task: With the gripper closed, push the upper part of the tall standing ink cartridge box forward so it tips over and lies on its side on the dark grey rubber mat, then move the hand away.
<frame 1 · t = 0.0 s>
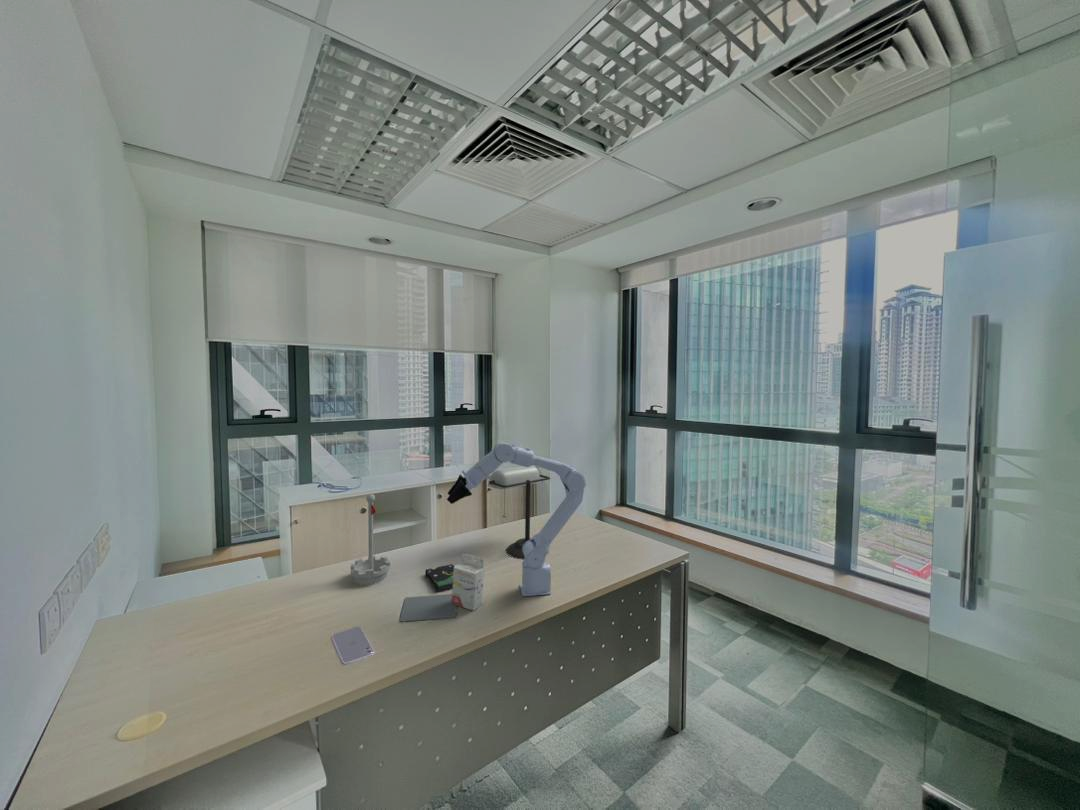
hand: (449, 498, 137), 32 cm above the table, tool tilted 50°, fingers open, 7 cm apart
lamp: (522, 548, 180), on the table
ink cartridge box: (466, 604, 133), on the table, touching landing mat
mobile phone: (352, 647, 112), on the table
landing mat: (429, 607, 131), on the table
disk drive: (445, 582, 150), on the table
flag stand: (370, 578, 151), on the table
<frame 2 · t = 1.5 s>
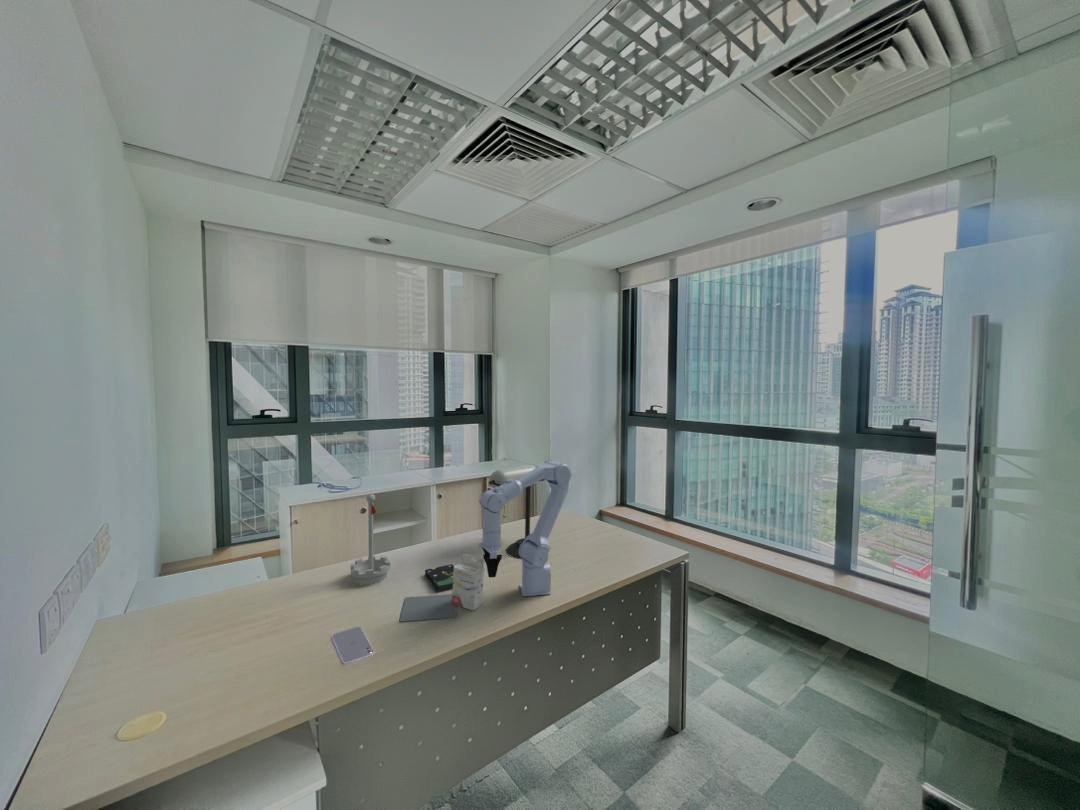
hand: (491, 572, 134), 10 cm above the table, tool pointing down, fingers open, 6 cm apart
nothing on the table moved.
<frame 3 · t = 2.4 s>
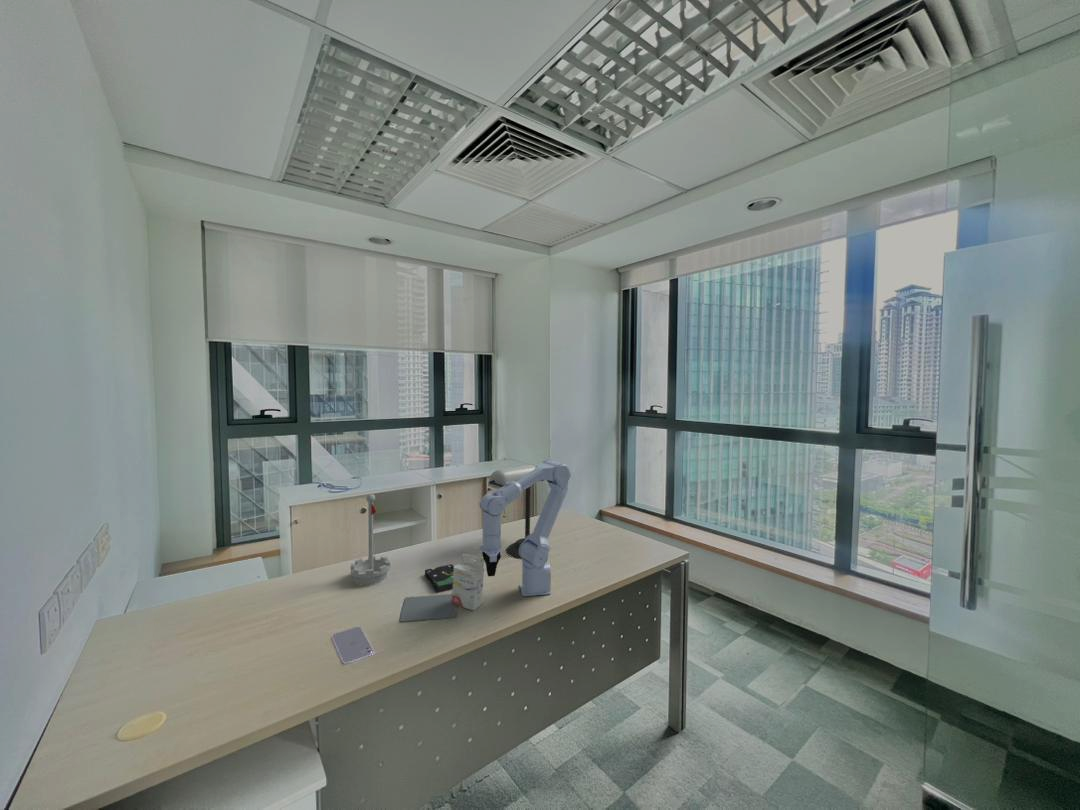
hand: (491, 575, 134), 9 cm above the table, tool pointing down, fingers closed
ink cartridge box: (466, 604, 133), on the table, touching gripper, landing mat
everything else where it was.
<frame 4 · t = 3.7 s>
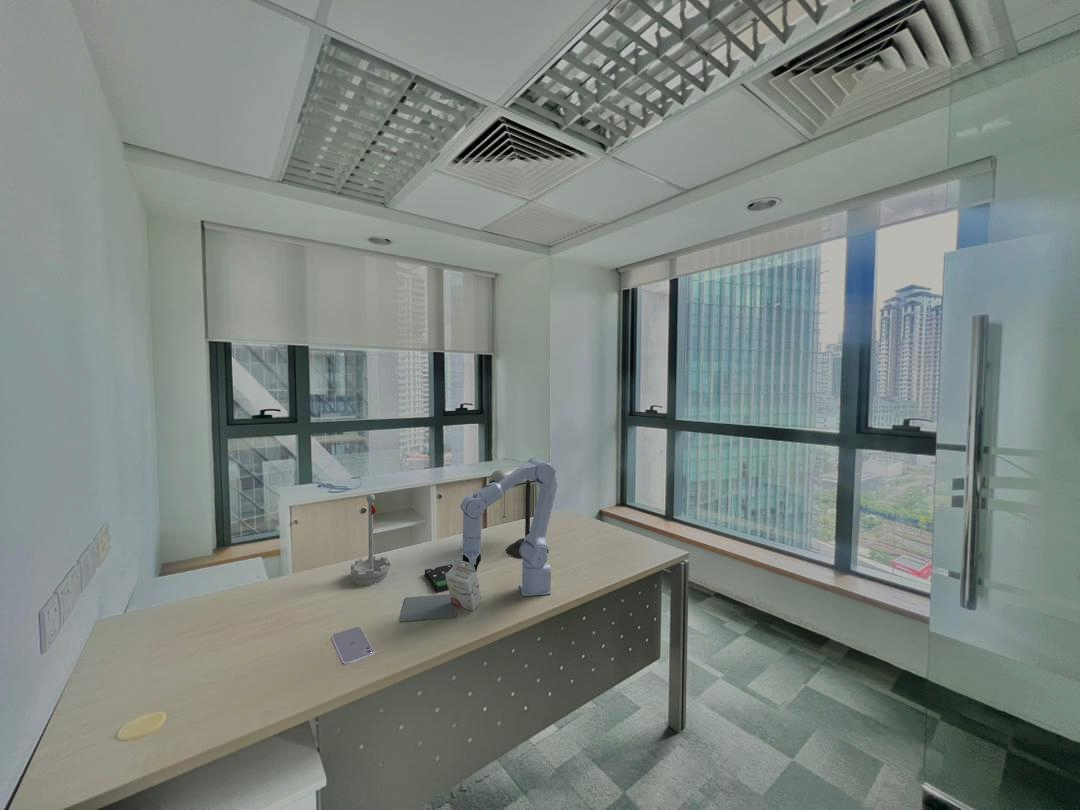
hand: (471, 577, 133), 8 cm above the table, tool pointing down, fingers closed
ink cartridge box: (466, 602, 133), point 1 cm above the table, touching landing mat
everything else where it was.
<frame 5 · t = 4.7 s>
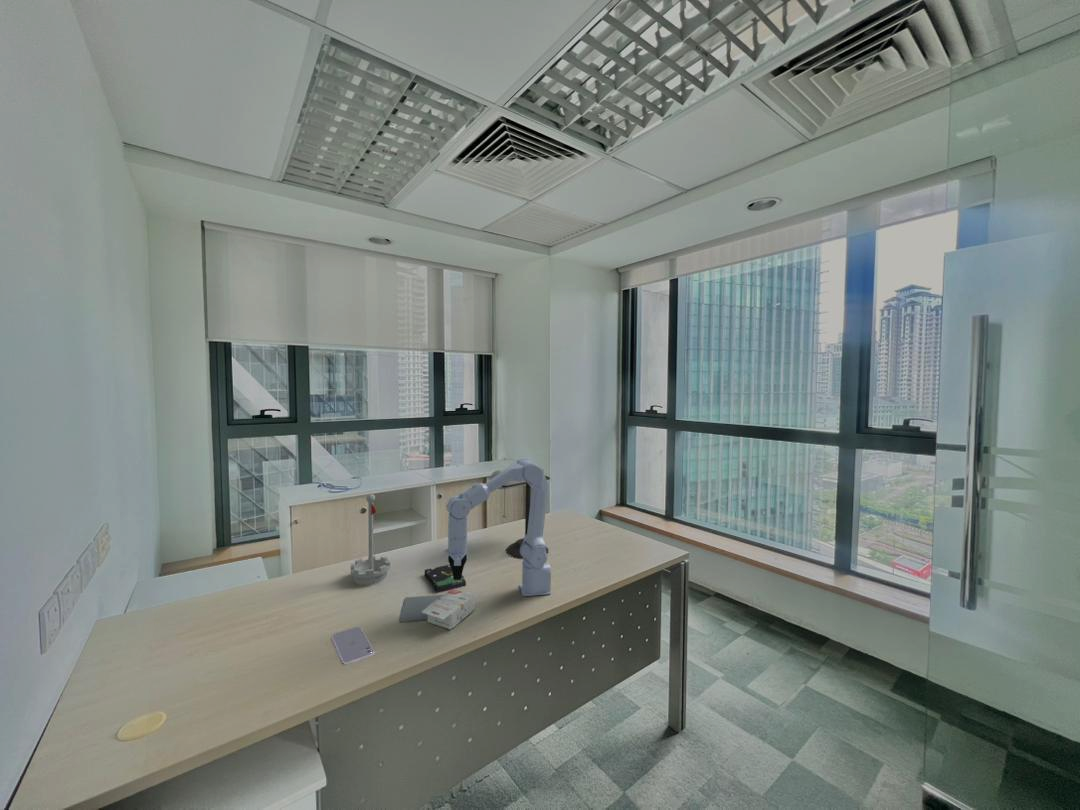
hand: (457, 579, 132), 8 cm above the table, tool pointing down, fingers closed
ink cartridge box: (463, 599, 131), point 3 cm above the table, touching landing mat
everything else where it was.
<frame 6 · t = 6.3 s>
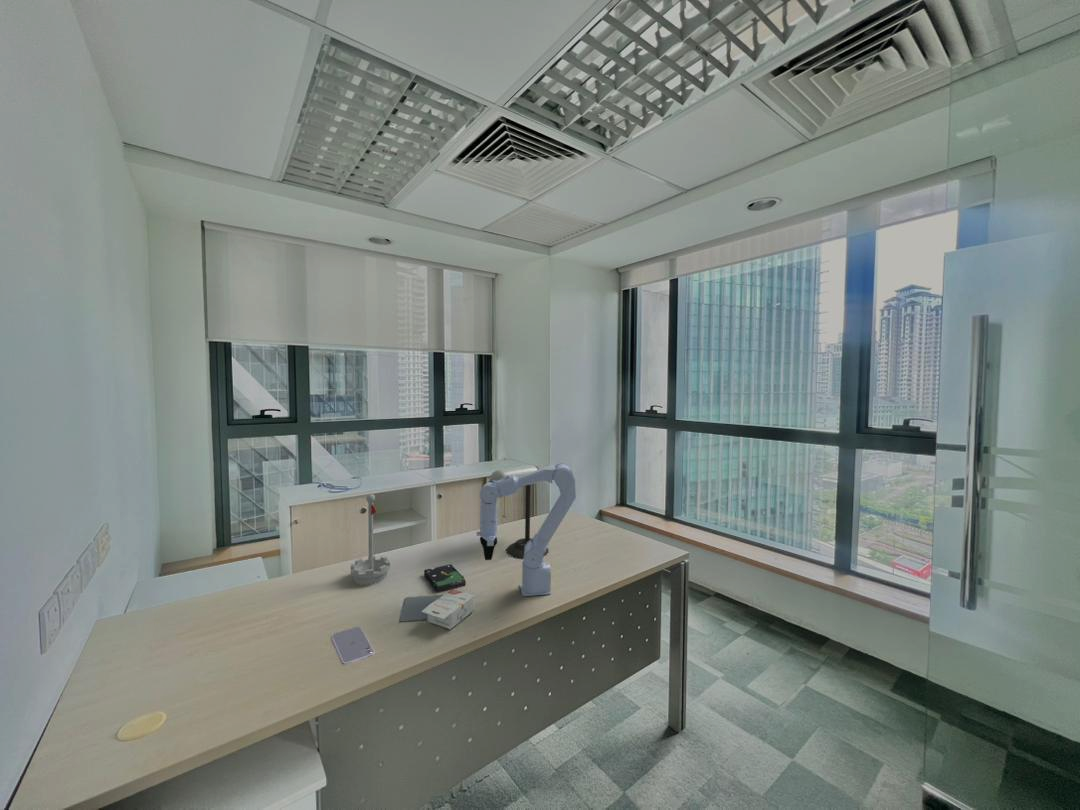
hand: (488, 559, 143), 10 cm above the table, tool pointing down, fingers closed
nothing on the table moved.
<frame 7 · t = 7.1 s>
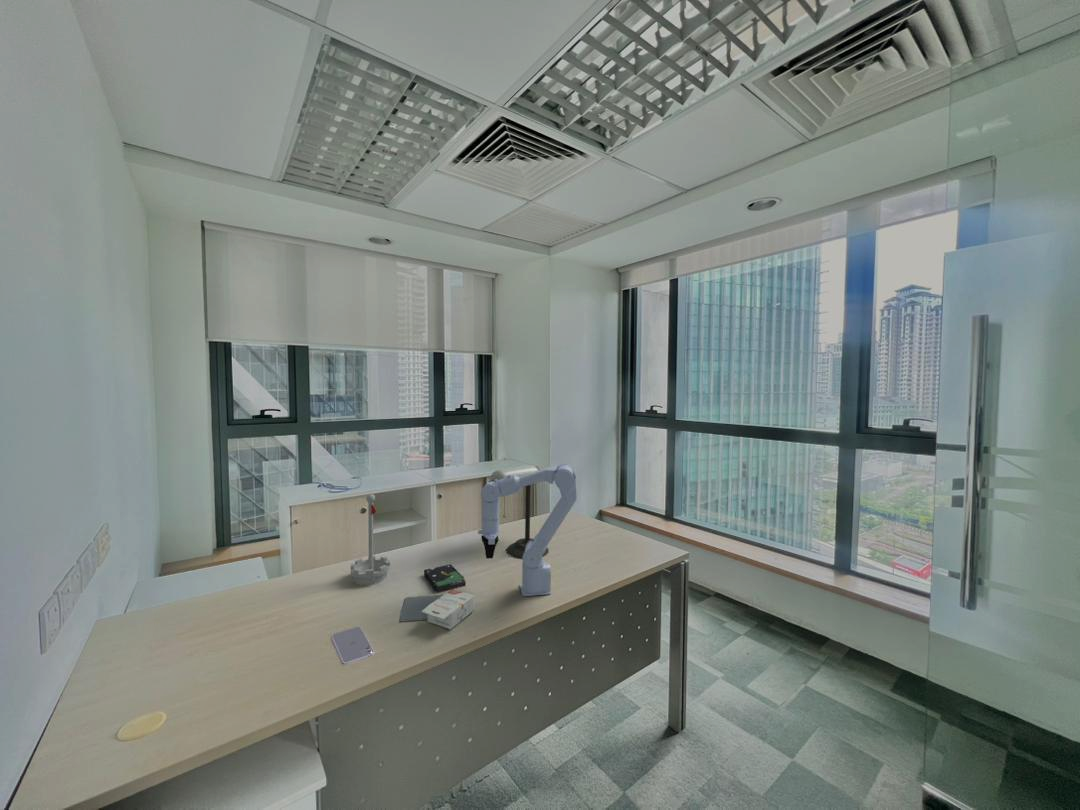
hand: (489, 557, 144), 10 cm above the table, tool pointing down, fingers closed
nothing on the table moved.
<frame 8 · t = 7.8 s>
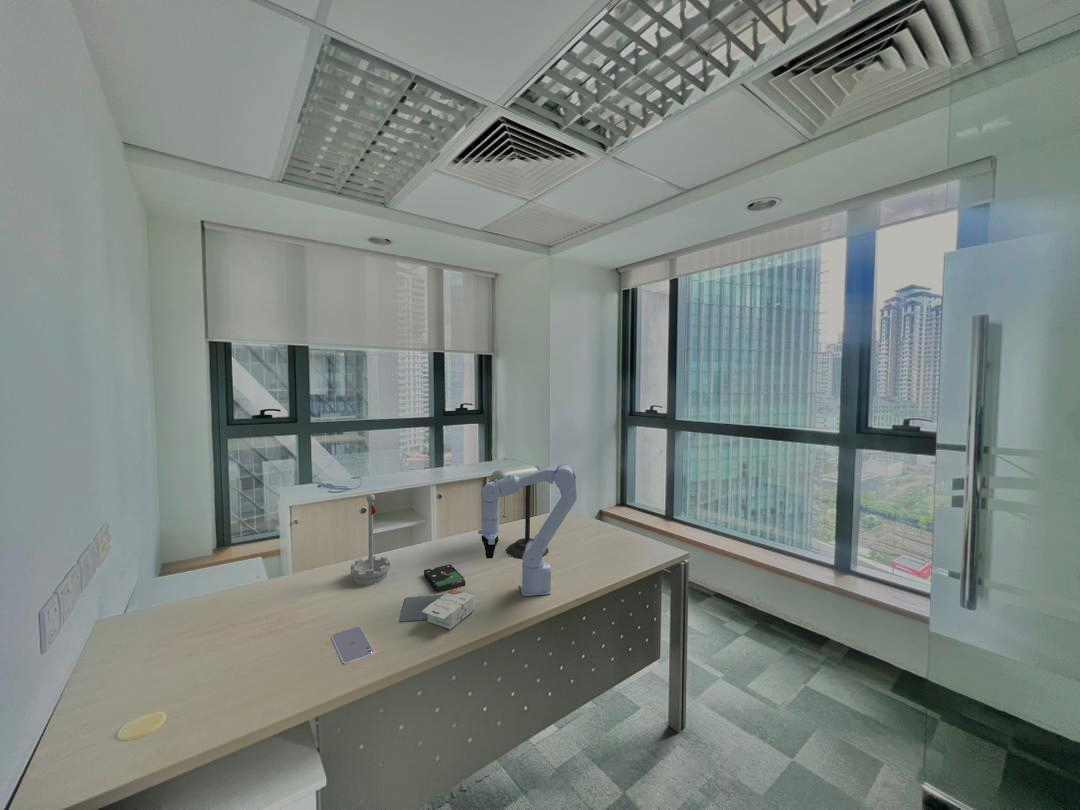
hand: (489, 557, 144), 10 cm above the table, tool pointing down, fingers closed
nothing on the table moved.
at the end: ink cartridge box tilted 89°; ink cartridge box touching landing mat; the gripper is holding nothing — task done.
